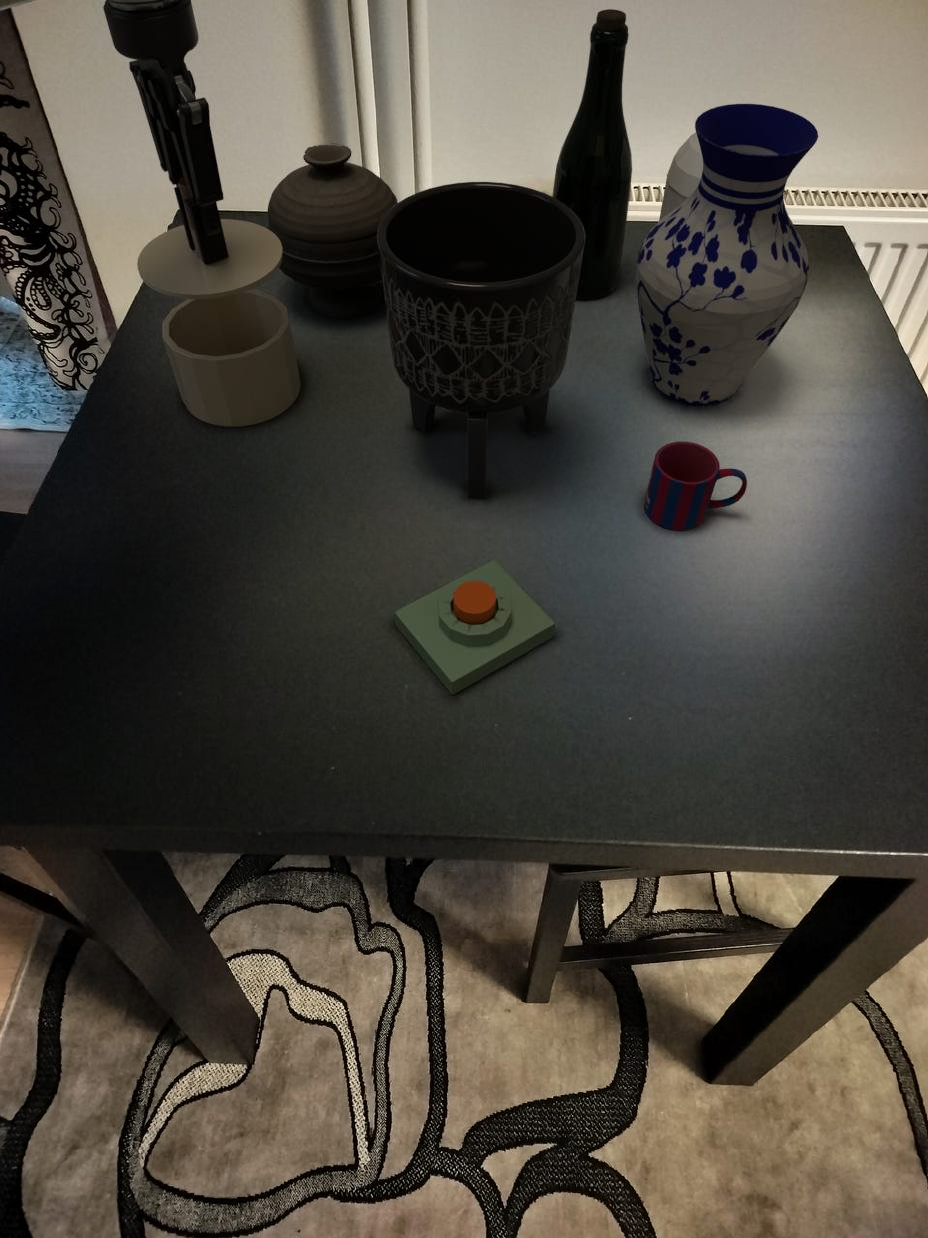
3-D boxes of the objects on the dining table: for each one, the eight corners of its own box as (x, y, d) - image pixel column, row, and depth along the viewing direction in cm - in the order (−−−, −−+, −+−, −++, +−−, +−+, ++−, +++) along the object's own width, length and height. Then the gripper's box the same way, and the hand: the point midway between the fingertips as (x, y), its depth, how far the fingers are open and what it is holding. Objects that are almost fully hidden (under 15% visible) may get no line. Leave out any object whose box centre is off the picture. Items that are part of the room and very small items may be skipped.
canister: (213, 442, 102) (193, 375, 94) (164, 380, 109) (142, 313, 102) (321, 398, 107) (310, 331, 99) (268, 341, 114) (254, 275, 107)
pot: (267, 266, 125) (253, 119, 109) (389, 261, 128) (392, 119, 113) (280, 339, 114) (266, 188, 98) (412, 332, 118) (419, 185, 102)
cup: (648, 483, 97) (659, 436, 92) (738, 500, 96) (754, 453, 90) (639, 523, 93) (650, 477, 88) (732, 542, 92) (749, 495, 86)
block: (452, 695, 80) (451, 671, 77) (395, 625, 85) (392, 600, 82) (553, 636, 84) (557, 611, 81) (493, 573, 89) (494, 547, 86)
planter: (361, 466, 99) (333, 247, 78) (452, 377, 109) (448, 163, 89) (508, 530, 93) (520, 310, 72) (590, 429, 103) (621, 211, 82)
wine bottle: (617, 263, 126) (656, -3, 100) (618, 303, 120) (660, 30, 94) (546, 260, 127) (567, -6, 101) (542, 299, 120) (564, 26, 94)
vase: (725, 326, 116) (791, 80, 93) (798, 411, 105) (894, 156, 81) (595, 350, 113) (629, 101, 89) (656, 441, 102) (713, 184, 78)
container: (742, 304, 120) (784, 155, 104) (645, 293, 121) (672, 144, 106) (744, 255, 128) (783, 109, 112) (653, 245, 129) (679, 100, 114)
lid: (174, 321, 88) (147, 234, 80) (119, 255, 96) (90, 170, 88) (309, 274, 93) (296, 188, 86) (246, 215, 101) (229, 132, 94)
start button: (469, 631, 80) (469, 620, 78) (445, 604, 82) (445, 592, 80) (504, 612, 81) (504, 600, 80) (479, 586, 83) (479, 574, 82)
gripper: (223, 13, 72) (273, 274, 90) (151, -37, 80) (210, 212, 99) (138, 31, 69) (207, 296, 88) (72, -21, 77) (148, 231, 96)
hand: (209, 251), depth 93 cm, fingers closed on lid, 3 cm apart
